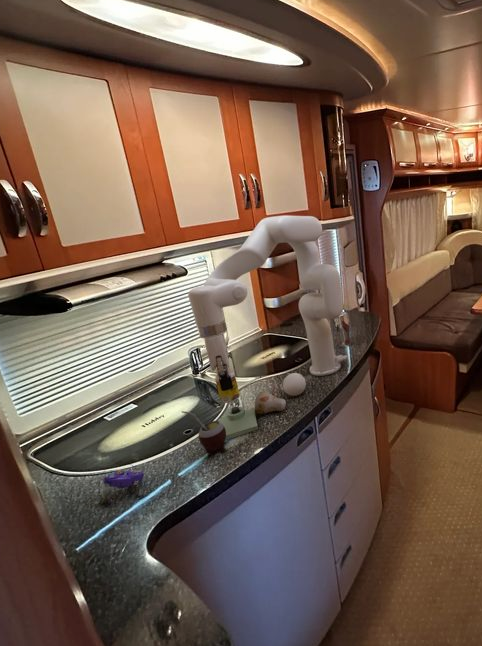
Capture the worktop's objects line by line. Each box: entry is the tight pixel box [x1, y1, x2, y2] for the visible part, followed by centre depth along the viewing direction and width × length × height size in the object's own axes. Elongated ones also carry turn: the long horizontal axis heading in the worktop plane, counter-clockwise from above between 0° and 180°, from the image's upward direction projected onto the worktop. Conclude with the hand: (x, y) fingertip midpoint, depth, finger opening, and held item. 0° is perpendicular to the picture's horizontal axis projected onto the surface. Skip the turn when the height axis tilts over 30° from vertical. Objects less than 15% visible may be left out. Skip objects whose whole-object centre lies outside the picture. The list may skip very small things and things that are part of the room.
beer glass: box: [333, 311, 352, 348], centre depth 171 cm, size 7×7×15 cm
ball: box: [282, 372, 307, 397], centre depth 132 cm, size 8×8×8 cm
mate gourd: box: [181, 410, 227, 458], centre depth 105 cm, size 8×8×15 cm
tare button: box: [230, 405, 240, 414], centre depth 121 cm, size 2×2×2 cm
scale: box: [218, 406, 259, 441], centre depth 118 cm, size 11×13×3 cm
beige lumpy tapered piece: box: [254, 391, 287, 415], centre depth 123 cm, size 8×10×10 cm
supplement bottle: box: [214, 365, 241, 404], centre depth 112 cm, size 6×6×10 cm
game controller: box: [98, 462, 145, 505], centre depth 95 cm, size 10×8×10 cm
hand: (227, 384), depth 112 cm, fingers closed on supplement bottle, 5 cm apart
